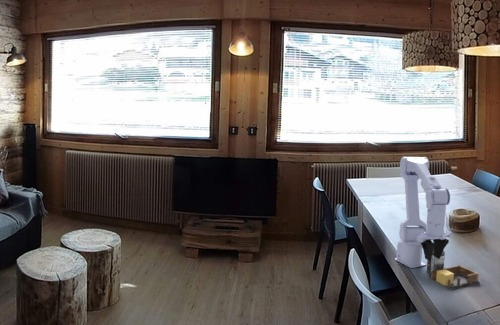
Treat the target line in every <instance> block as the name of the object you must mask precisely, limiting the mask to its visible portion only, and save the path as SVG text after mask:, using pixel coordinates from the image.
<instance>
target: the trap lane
mask: <svg viewBox="0 0 500 325" xmlns="http://www.w3.org/2000/svg"><path fill="white" fill-rule="evenodd" d="M444 269H445V270H447V271H450V272H452V273H454V275H457V274H458V275H459V274H460V275H462V276H464V277H466V282H462V283H461V277H459V276H458V277H457V278H456V279H457V282H456V284H450V280H448V285H446V286H447V289H451V290H454V289H458V288H462V287H467V286H471V284H472V283H475V282H478V281H479V275H480V273H479V272H476V271H474V270H472V269H469V268H468V267H466V266H463V265H461V264H459V265H455V266H450V267H444ZM444 269H439V270H444ZM439 270H435V271H431V273H430V280H436V276H437V271H439Z"/></svg>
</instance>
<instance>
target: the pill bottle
mask: <svg viewBox="0 0 500 325" xmlns="http://www.w3.org/2000/svg"><path fill="white" fill-rule="evenodd" d="M445 254H446V253H445V250H443V252H442V255H441V257H440V258H436V257H434V249H433V253H432V258H431V260H430V261H429V260H427V259H426V261H427V262H426V271H427V272H428V273H430V274H431V271H435V270H439V269H444V268H445V258H446V257H445V256H446V255H445Z"/></svg>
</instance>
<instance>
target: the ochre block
mask: <svg viewBox="0 0 500 325" xmlns="http://www.w3.org/2000/svg"><path fill="white" fill-rule="evenodd" d="M454 277H455V274H454V273H452V272H450V271H447V270H445V269H444V270H439V271H437V276H436V279H435V282H437V283H438V284H439V283H440V284H441V285H442V286H445V285H446V286H448V280H450V285H454Z"/></svg>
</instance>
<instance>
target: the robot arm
mask: <svg viewBox="0 0 500 325" xmlns="http://www.w3.org/2000/svg"><path fill="white" fill-rule="evenodd" d="M429 168H430V160H429V158H428V157H426V156H423V157H422V156H421V157H420V156H402V157H401V159H400V162H399V174H400V178H402V179H403V180H404V190H405V207H406V208H405V209H406V219H405V220H403V221H402V222H400V225H399V227H400V228H399V238H400V240H399V241H397V245H396V257H395V258H394V260H395V261H396V262H399V263H401V264H403V265H405V266H406V267H409V268H410V269H415V268H419V267H420V268H421V267H424V266H427V263H424V262H423V261H422V256H423V255H422V254H424V258H425V260H426V261H427V260H429V261H430V260H431V258H432V253H433V249H434V257H436V258H440V257H441V255H442V252H443V250H444V249H445V248H446V247H447V245H448V244H449V239H447V238H452V234H453V232H452V231H449V230H445V224H446V223H445V222H446V209H447V206H448V205H450V201H451V194H450V193H451V192H450V191H449V188H447V187H446V188H445V187H442V185H441V184H440V182H439V180H438V179H437V177H436V176H435V175H431V173H430V170H429ZM419 179H420V180H421V181H420V186H421V188H422V189H423V191H424V193H425V202H426V209H427V212H426V222H425V221H424V220H422V219H420V218H421V217H420V216H421V215H420V202H419V186H418V181H419ZM444 251H445V250H444Z"/></svg>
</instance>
